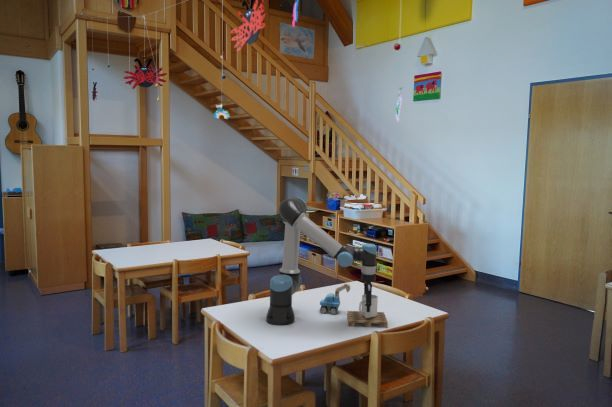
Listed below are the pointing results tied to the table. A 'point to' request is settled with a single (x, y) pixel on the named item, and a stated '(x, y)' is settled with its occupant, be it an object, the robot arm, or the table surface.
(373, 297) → the cup
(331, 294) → the toy excavator
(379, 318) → the wooden pallet
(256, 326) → the table surface
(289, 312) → the robot arm
